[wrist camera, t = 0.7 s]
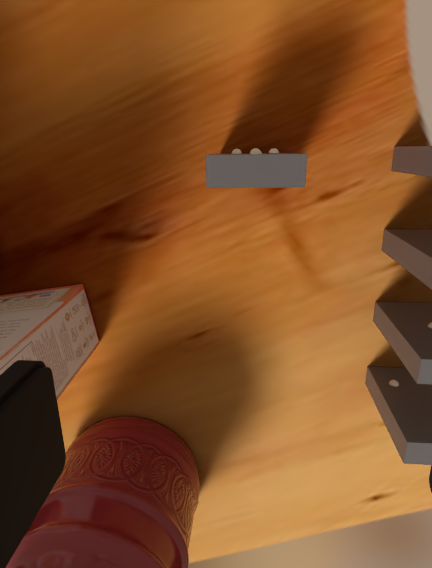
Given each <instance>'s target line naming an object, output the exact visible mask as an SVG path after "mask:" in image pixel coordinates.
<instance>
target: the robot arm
mask: <svg viewBox="0 0 432 568" xmlns="http://www.w3.org/2000/svg"><path fill="white" fill-rule="evenodd" d="M65 461H66V454H65V448H64V442H63V436H62V429H61V423H60V417H59V411H58V405H57V398H56V392H55V386H54V380H53V374H52V370H51V369H50V368H49V367H46V365H45V364H44V362H42V361H32V360H17V361H16V362H14V363H13V364H12V365H11V366H10V367H9V368H8V369H6V370H5V371H4V372H3V373H2V374H1V375H0V568H6V566H7V565H8V563H9V561H10V559H11V558H12V556H13V554H14V553H15V551H16V549H17V548H18V546H19V544H20V543H21V541H22V539H23V537H24V536H25V534H26V532H27V531H28V529H29V527H30V526H31V524H32V522H33V521H34V519H35V517H36V515H37V514H38V512H39V510H40V509H41V507H42V505H43V504H44V502H45V500H46V498H47V497H48V495H49V493H50V492H51V490H52V488H53V487H54V485H55V483H56V482H57V480H58V478H59V476H60V475H61V473H62V471H63V469H64V466H65ZM429 483H430V488H431V492H432V466H431V471H430V477H429Z"/></svg>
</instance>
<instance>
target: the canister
mask: <svg viewBox="0 0 432 568" xmlns="http://www.w3.org/2000/svg"><path fill="white" fill-rule="evenodd" d="M65 454H66V461H65V466H64V469H63V471H62V473H61V475H60V476H59V478H58V480H57V482H56V483H55V485H54V487H53V488H52V490H51V492H50V493H49V495H48V497H47V498H46V500H45V502H44V504H43V505H42V507H41V509H40V510H39V512H38V514H37V515H36V517H35V519H34V521H33V522H32V524H31V526H30V527H29V529H28V531H27V532H26V534H25V536H24V537H23V539H22V541H21V543H20V544H19V546H18V548H17V549H16V551H15V553H14V554H13V556H12V558H11V559H10V561H9V563H8V565H7V566H6V568H188V562H189V558H188V548H189V541H190V535H191V529H192V523H193V517H194V513H195V511H196V508H197V504H198V498H199V491H200V484H199V474H198V467H197V463H196V460H195V458H194V456H193V454H192V452H191V450H190V449H189V447H188V446H187V445H186V444H185V442H184V441H183V440H182V439H181V438H180V437H179V436H177V435H176V434H175V433H174V432H172V431H171V430H169V429H168V428H166V427H164V426H162V425H160V424H158V423H156V422H153V421H150V420H147V419H143V418H137V417H114V418H109V419H105V420H102V421H99V422H97V423H95V424H93V425H92V426H90V427H89V428H87V429H86V430H85V431H84V432H83V433H82V434H81V435H80V436H79V437H78V438H77V439H76V440H75V441H74V442H73V443H72V444H71V445H70V447H69V448H68V450H67V452H66V453H65Z"/></svg>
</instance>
